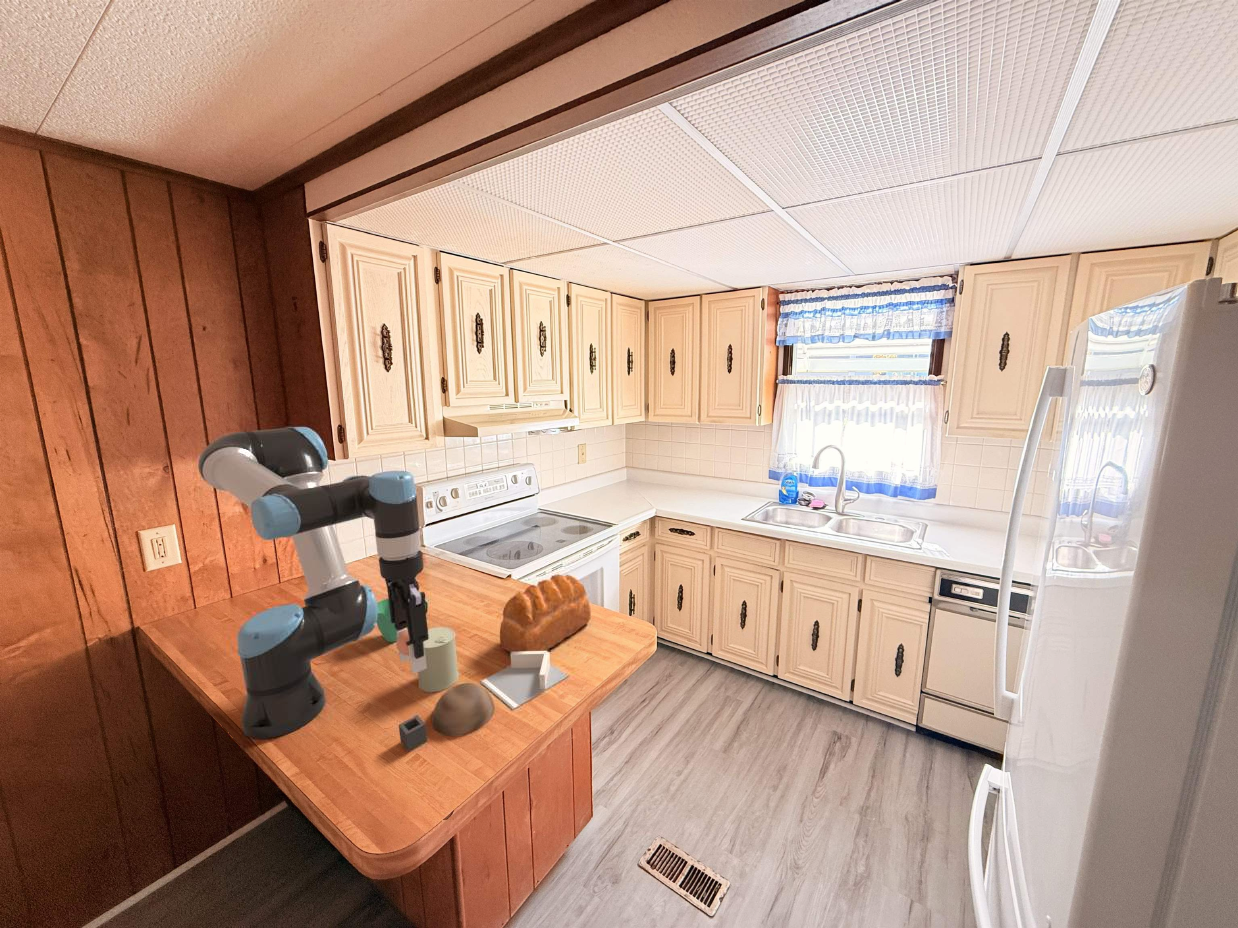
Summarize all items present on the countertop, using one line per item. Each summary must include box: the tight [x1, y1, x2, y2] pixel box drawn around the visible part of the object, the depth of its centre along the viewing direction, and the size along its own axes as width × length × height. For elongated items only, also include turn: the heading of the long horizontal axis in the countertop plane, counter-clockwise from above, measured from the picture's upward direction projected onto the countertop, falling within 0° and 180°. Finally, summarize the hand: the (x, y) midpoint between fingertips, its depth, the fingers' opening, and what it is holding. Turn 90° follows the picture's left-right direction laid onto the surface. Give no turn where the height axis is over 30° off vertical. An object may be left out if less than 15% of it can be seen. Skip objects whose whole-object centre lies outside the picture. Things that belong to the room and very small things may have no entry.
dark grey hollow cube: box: [398, 714, 428, 753], centre depth 97 cm, size 4×4×4 cm
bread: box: [499, 573, 592, 653], centre depth 135 cm, size 14×26×16 cm, turn 143°
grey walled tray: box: [479, 650, 569, 711], centre depth 116 cm, size 16×14×4 cm
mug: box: [376, 598, 429, 643], centre depth 136 cm, size 15×10×10 cm
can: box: [417, 626, 460, 693], centre depth 116 cm, size 9×9×12 cm
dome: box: [432, 682, 495, 737], centre depth 105 cm, size 13×13×13 cm
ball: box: [396, 630, 410, 655], centre depth 94 cm, size 5×5×5 cm
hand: (413, 664), depth 95 cm, fingers closed on ball, 5 cm apart
